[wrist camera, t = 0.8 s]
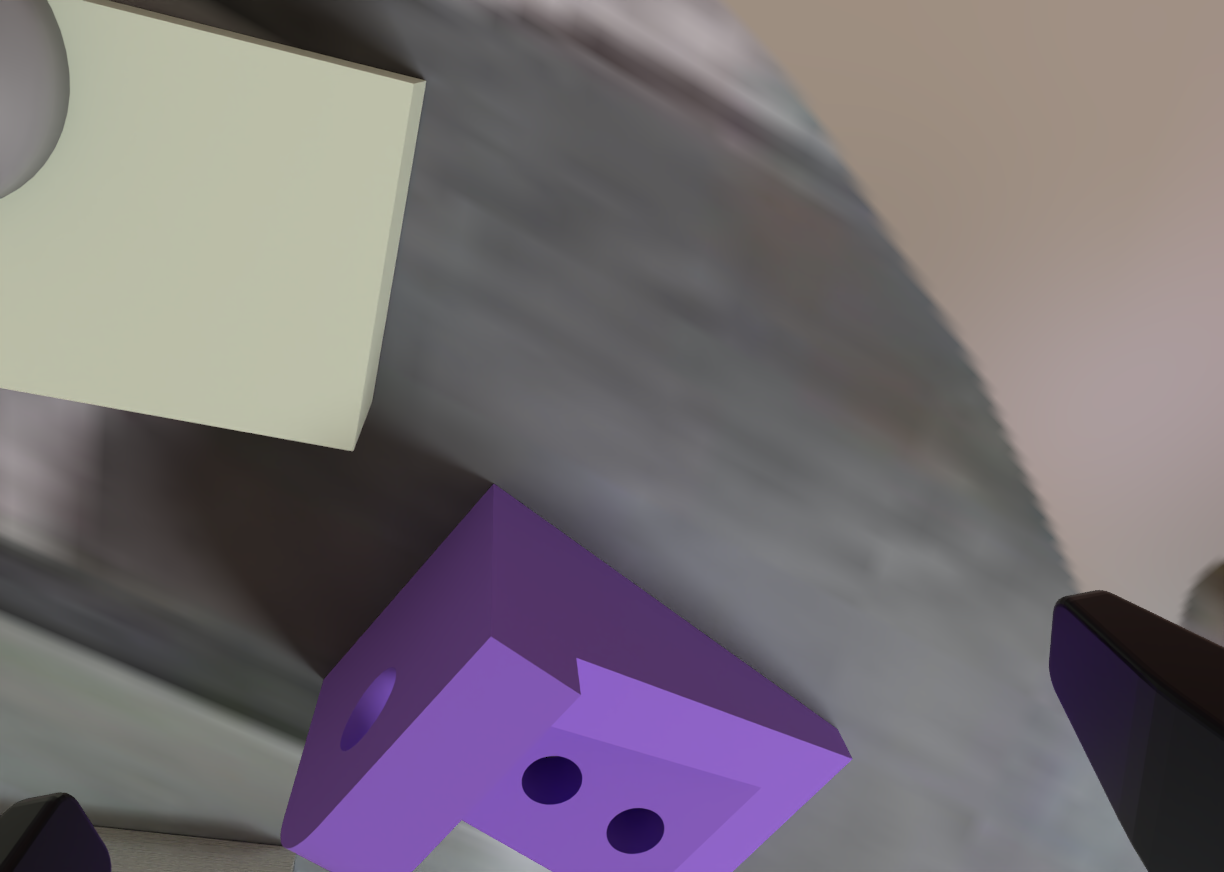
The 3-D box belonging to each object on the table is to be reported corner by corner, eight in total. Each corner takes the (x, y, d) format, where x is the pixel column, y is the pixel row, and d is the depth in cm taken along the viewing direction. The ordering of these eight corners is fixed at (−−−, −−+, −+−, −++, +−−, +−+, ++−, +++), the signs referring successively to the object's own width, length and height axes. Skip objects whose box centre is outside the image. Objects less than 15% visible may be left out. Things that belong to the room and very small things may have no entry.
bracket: (325, 672, 25) (264, 884, 18) (493, 478, 23) (490, 636, 17) (670, 877, 28) (719, 1114, 22) (833, 721, 27) (936, 926, 21)
